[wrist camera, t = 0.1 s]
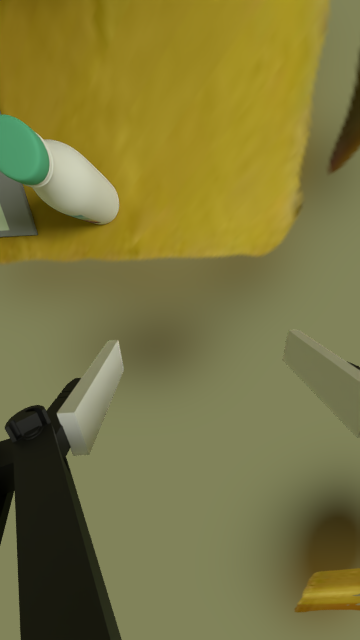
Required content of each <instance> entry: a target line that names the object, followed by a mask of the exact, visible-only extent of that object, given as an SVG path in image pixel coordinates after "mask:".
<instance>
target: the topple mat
mask: <svg viewBox="0 0 360 640" xmlns="http://www.w3.org/2000/svg"><path fill="white" fill-rule="evenodd" d="M0 115H1V112H0ZM29 235H38V233H37V230H36V227H35V223H34V220H33V217H32V214H31V210H30V207H29V204H28V201H27V197H26V194H25V191H24V187H23V184H22V183H19V182H17V181H14V180H12V179H10V178H9V177H7V176H6V175H4V174H3V173H2V172H1V171H0V237H10V236H29Z"/></svg>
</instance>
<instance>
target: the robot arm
mask: <svg viewBox="0 0 360 640" xmlns="http://www.w3.org/2000/svg"><path fill="white" fill-rule="evenodd" d="M283 361H284V362H285V363H286V364H287V365H288V366H289V367H290V368H291V369H292V370H293V372H295V374H296V375H297V376H298V377H299V378H300V379H301V380H302V381H303V382H304V383H305V384H306V385H307V386H308V387H309V388H310V389H311V390H312V391H313V392H314V393H315V394H316V395H317V397H318V398H320V400H321V401H322V402H323V403H324V404H325V405H326V406H327V407H328V408H329V409H330V410H331V411H332V412H333V413H334V414H335V415H336V416H337V417H338V418H339V419H340V420H341V421H342V422H343V424H345V426H346V427H347V428H348V429H349V430H350V431H351V432H352V433H353V434H354V435H355V436H356V437H360V367H359V366H356V365H354V364H352V363H349V362H346V361H345V360H343V359H342V358H340V357H339V356H337V355H336V354H334V353H333V352H331V351H330V350H328V349H327V348H325V347H324V346H322V345H321V344H319V343H318V342H316V341H314V340H313V339H312V338H310V337H309V336H307V335H306V334H304V333H303V332H301V331H300V330H288V334H287V340H286V345H285V350H284V355H283ZM123 371H124V368H123V362H122V358H121V352H120V347H119V342H118V340H108V341H107V343H106V344H105V346H104V347H103V348H102V350H101V351H100V353H99V354H98V355H97V357H96V358H95V360H94V361H93V362H92V364H91V365H90V367H89V368H88V370H87V371H86V372H85V374H84V375H83V377H82V378H75V379H74V380H72V381H71V382H70V383H68V384H67V385H66V387H65V388H64V389H63V390H62V393H60V394H59V395H58V397H57V399H55V401H54V402H53V403H52V405H51V406H50V407H49V408H48V410H47V411H46V410H45V408H44V407H43V406H40V405H35V406H31V407H28V408H25V409H23V410H21V411H20V412H18V413H17V414H15V415H14V416H13V417H11V418H10V419H9V421H8V422H7V423H6V426H5V430H6V432H7V433H8V435H9V437H10V439H7V440H4V441H1V442H0V544H1V540H2V536H3V532H4V529H5V525H6V521H7V517H8V513H9V509H10V505H11V501H12V497H13V493H14V491H15V508H16V533H17V558H18V582H19V607H20V632H21V640H121V637H120V633H119V630H118V627H117V623H116V620H115V616H114V613H113V610H112V607H111V603H110V600H109V597H108V593H107V590H106V587H105V583H104V581H103V577H102V573H101V570H100V567H99V564H98V560H97V557H96V554H95V550H94V548H93V544H92V540H91V537H90V534H89V531H88V527H87V524H86V521H85V518H84V514H83V511H82V508H81V504H80V501H79V498H78V494H77V491H76V488H75V484H74V481H73V478H72V475H71V471H70V468H69V465H68V461H67V459H66V455H67V453H68V451H69V449H70V448H71V451H72V453H73V455H74V456H75V455H89V454H90V452H91V449H92V447H93V444H94V442H95V439H96V437H97V434H98V432H99V429H100V427H101V425H102V422H103V420H104V417H105V415H106V412H107V410H108V407H109V405H110V403H111V400H112V398H113V395H114V393H115V390H116V388H117V385H118V383H119V381H120V378H121V375H122V373H123Z"/></svg>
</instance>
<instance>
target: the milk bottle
mask: <svg viewBox="0 0 360 640" xmlns="http://www.w3.org/2000/svg"><path fill="white" fill-rule="evenodd" d="M0 171H1V172H2V173H3V174H4V175H6V176H7V177H9V178H10V179H12V180H14V181H17V182H19V183H22V184H24V185H26V186H29V187H32V188H33V189H34V191H35V192H36V193H37V195H38V196H39V197H40V198H41V199H42V200H43V201H44V202H45V203H47V204H48V205H49V206H51V207H52V208H54V209H56V210H57V211H59V212H61V213H64V214H66V215H69V216H72V217H75V218H78V219H81V220H85V221H88V222H91V223H95V224H107V223H109V222H111V221H112V220H113V219H114V218H115V217H116V215H117V213H118V210H119V199H118V195H117V192H116V190H115V188H114V187H113V186H112V184H111V183H110V182H109V181H108V180H107V179H106V178H105V177H104V176H103V175H102V174H101V173H100V172H99V171H98V170H97V169H96V168H95V167H94V166H93V165H92V164H91V163H90V162H89V161H88V160H87V159H86V158H85V157H84V156H82V155H81V154H80V153H79V152H78V151H76V150H75V149H73V148H72V147H70V146H68V145H66V144H64V143H62V142H59V141H55V140H43V139H42V138H41V137H40V136H39V135H38V134H37V133H35V132H34V131H33V130H32V129H31V128H30V127H29V126H27V125H26V124H25V123H23V122H22V121H20V120H19V119H17V118H15V117H12V116H9V115H0Z"/></svg>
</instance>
